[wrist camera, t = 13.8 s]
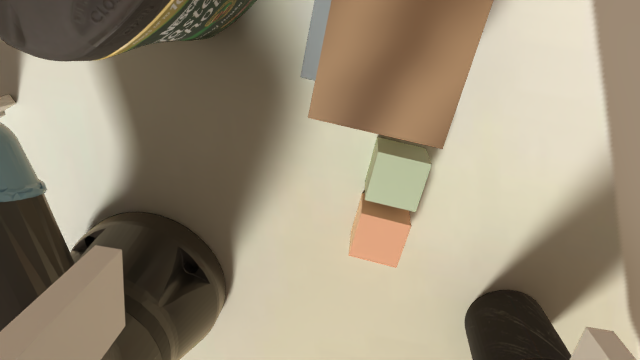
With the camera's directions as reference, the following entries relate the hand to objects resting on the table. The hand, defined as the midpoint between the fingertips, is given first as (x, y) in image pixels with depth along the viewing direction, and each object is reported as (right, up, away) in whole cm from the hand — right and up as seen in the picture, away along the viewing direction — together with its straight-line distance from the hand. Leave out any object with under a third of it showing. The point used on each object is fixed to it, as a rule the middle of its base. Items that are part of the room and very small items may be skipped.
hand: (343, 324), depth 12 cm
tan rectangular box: (+5, +16, +18) cm, 25 cm away
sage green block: (+6, +5, +23) cm, 24 cm away
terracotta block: (+4, +1, +25) cm, 25 cm away
